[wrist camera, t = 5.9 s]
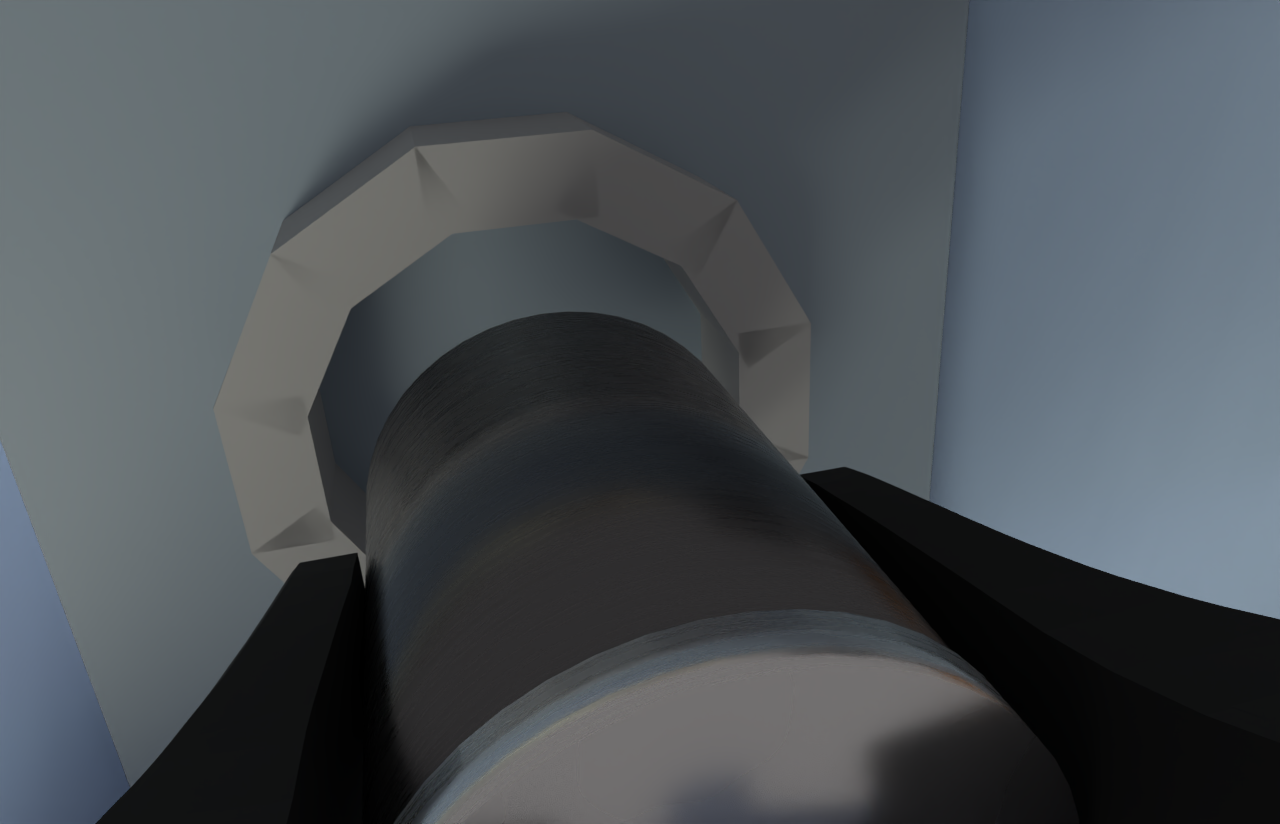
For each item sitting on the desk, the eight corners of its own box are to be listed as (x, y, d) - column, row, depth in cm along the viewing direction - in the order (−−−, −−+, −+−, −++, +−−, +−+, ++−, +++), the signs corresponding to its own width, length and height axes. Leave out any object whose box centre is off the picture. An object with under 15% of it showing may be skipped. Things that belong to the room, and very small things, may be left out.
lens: (753, 611, 14) (1045, 1094, 8) (402, 689, 13) (427, 1307, 7) (740, 279, 12) (1125, 588, 6) (321, 343, 11) (257, 794, 5)
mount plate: (882, 657, 23) (960, 761, 20) (175, 813, 20) (140, 965, 17) (936, -228, 16) (1074, -277, 13) (-182, -202, 13) (-363, -260, 9)
